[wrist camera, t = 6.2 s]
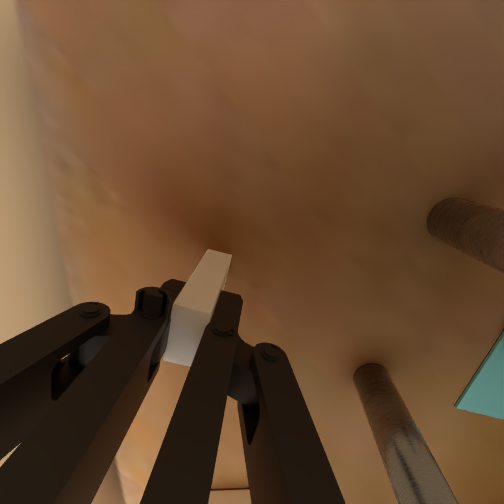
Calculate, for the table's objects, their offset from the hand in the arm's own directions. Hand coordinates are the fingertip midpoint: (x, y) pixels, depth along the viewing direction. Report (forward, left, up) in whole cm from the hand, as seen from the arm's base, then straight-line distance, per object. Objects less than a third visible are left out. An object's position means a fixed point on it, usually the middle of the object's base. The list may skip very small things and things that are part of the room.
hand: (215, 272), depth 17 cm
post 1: (-13, +6, -2) cm, 15 cm away
